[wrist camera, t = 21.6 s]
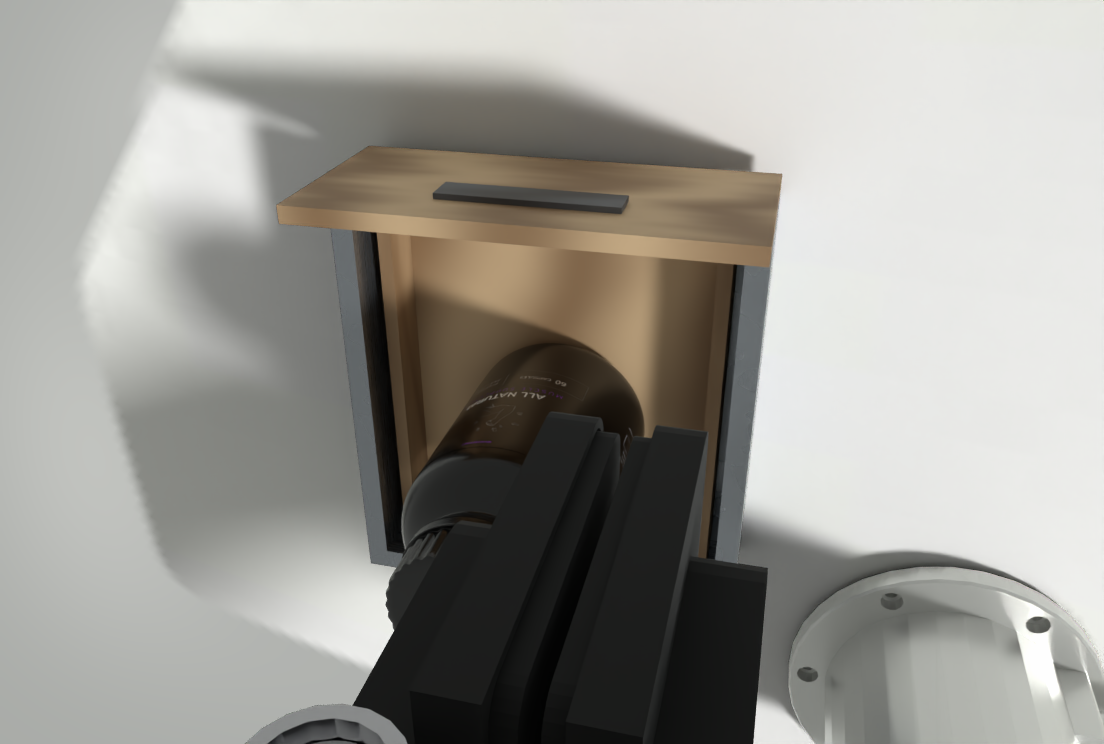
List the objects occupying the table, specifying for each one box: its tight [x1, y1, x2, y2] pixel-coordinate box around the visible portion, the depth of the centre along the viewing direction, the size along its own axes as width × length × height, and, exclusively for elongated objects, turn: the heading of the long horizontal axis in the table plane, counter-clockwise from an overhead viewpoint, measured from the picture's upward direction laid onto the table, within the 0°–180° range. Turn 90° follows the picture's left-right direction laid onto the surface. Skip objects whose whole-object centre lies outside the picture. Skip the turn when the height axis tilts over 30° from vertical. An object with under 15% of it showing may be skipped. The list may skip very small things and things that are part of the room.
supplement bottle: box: [386, 343, 645, 630], centre depth 33 cm, size 7×7×12 cm
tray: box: [276, 146, 782, 559], centre depth 34 cm, size 15×16×7 cm
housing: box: [331, 197, 780, 567], centre depth 37 cm, size 15×16×5 cm
